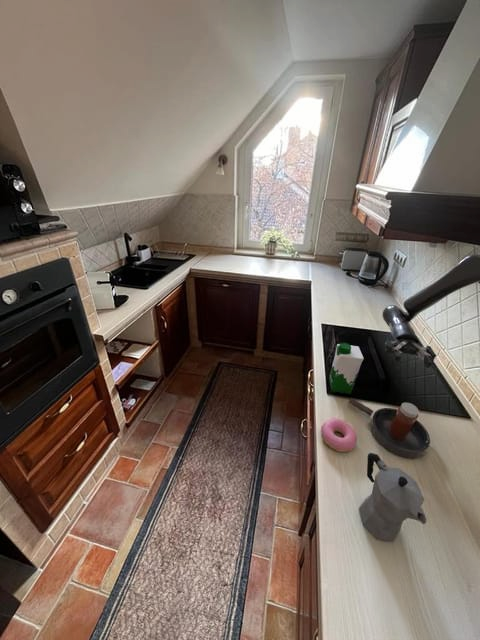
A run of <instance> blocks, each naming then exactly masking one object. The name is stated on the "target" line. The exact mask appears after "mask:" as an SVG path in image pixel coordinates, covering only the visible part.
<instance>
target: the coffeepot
mask: <svg viewBox="0 0 480 640" xmlns="http://www.w3.org/2000/svg"><path fill="white" fill-rule="evenodd" d="M366 462H367V463H366V464H367V465H366V477H367V478H368V480H369V481H370V482H371V483H373V485H372V490H371V493H370V494H369V495H368V496H367V497H366V498H365V499H364V501H363V502H362V503H361V505H359V508H358V511H359V516H360V517H359V518H360V519H361V523H362V526H363V527H364V528H365V529H366V530H367V531H368V532H369V534H371V535H372V536H373V537H374V538H375V539H376V540H378V541H383V542H391V543H394V542H395V540H396V539H397V537H398V535H399V534H400V531H401V530H402V527H403V526H402V525H403V522H404V521H406V520H407V519H410V520H414V521H417V522H420V523H421V524H422V525H426V523H427V517H426V514H425V511H424V509H423V508H422V505H423V504H424V501H425V497H424V495H423V493H422V491H421V489H420V487H419V484H418V482H417V481H416V480H415V479H414V478H413V477H412V476H410V475H408V473H406V472H405V471H403V469H401V468H399V467H392V466H388V465H387V463H385V461H384V460H383V459H382V458H381V457H380V455H379V454H377V453H374V452H368V454H367V461H366ZM374 465H376V467H377V468H378V470H379V471H378V472H377V473H376V474H375V476H374V477H373V473H374Z"/></svg>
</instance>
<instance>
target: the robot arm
mask: <svg viewBox="0 0 480 640" xmlns="http://www.w3.org/2000/svg"><path fill="white" fill-rule="evenodd" d="M476 283H478V284H479V285H480V251H479V252H475V253H472V254H469V255H467V256H465V257H463V258H462V259H461V260H460V261H459V262H458V263H457V264H456V265H454V266H453V268H451V269H450V270H449V271H448V272H447V273H446V274H444V275H443V276H441V277H440V278H439V279H438V280H436V281H435V282H433V283H431V284H430V285H428V286H426V287H424V288H422V289H421V290H419V291H418V292H416V293H415V294H412V296H410V297H408V298H407V299H405V300H404V301H403V302H402V303H403V308H404V310H405V311H404V310H403V309H401V308H400V307H399V306H397V305H394V304H391V305H388V306H386V307H385V308H384V309H383V311H382V313H381V315H382V320H383V321H384V322H385V324H386V325H387V326H388V327H389V331H390V336H391V338H389V337H387V338H386V340H385V343H384V348H385V349H384V350H385V353H386V354H391V355H392V356H393V359H394V360H395V362H399V363H400V360H401V359H402V358H401V357H402V356H401V353H402V354H408V355H412V356H414V357H415V358H417V359H420V360H422V361H423V363H424V366H425V368H427V369H429V368H430V367H432V365H433V362H434V361H435V359H436V357H437V354H436V353H435V351H434V350H433V348H432V346H431V345H426V346H422V345H421V344H420V342H419V338H418V336H417V334H416V332H415V330H414V328H413V327H412V325H411V322H412V320H414V319H415V318H416V317H417V316H418V315H419V314H420V313H423V312H424V311H426V310H427V309H429V308H431V307H433V306H434V305H436V304H438V303H439V302H441V301H442V300H443V299H445V298H446V297H448V296H449V295H451V294H453V293H455V292H457V291H459V290H461V289H463V288H466V287H468V286H470V285H473V284H476ZM391 339H392V340H391Z"/></svg>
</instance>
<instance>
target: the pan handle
mask: <svg viewBox="0 0 480 640" xmlns="http://www.w3.org/2000/svg"><path fill="white" fill-rule="evenodd" d="M347 404H350V405H351V406H352V407H354V408H356V409H358V410H359V411H361V412H363V414H364V413H365V414H366V415H367V416H369V417H372V416H373V414H374V410H373V409H371V408H370V407H368V406H366V405H365V404H363V403H362V402H359V401H358V400H357V399H354V398H353V397H351V398H349V400H348V402H347Z"/></svg>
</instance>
